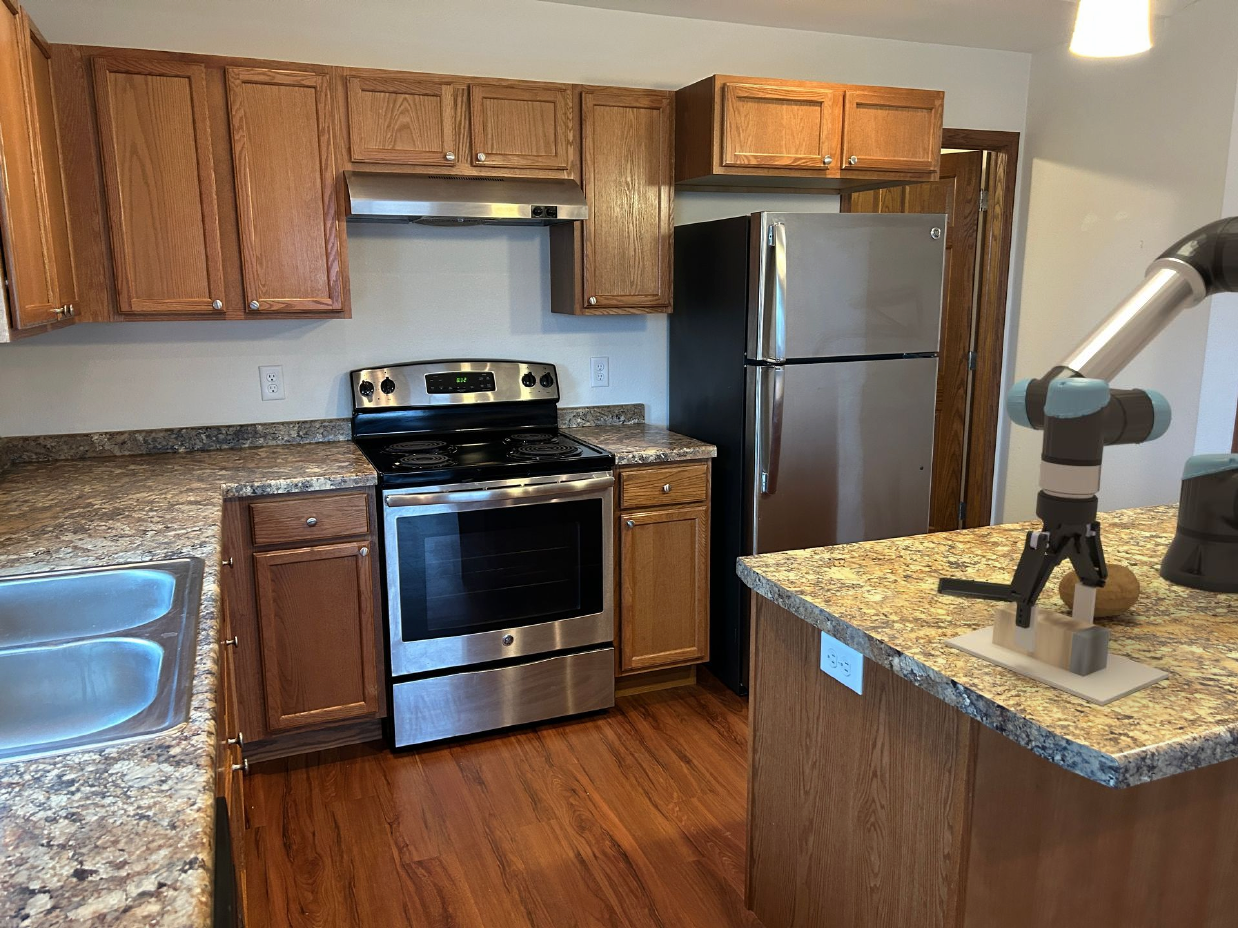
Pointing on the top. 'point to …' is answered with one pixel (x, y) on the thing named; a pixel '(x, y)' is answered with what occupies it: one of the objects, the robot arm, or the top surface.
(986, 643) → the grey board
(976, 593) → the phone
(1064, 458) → the robot arm
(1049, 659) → the maple block
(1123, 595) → the potato
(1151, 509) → the top surface
